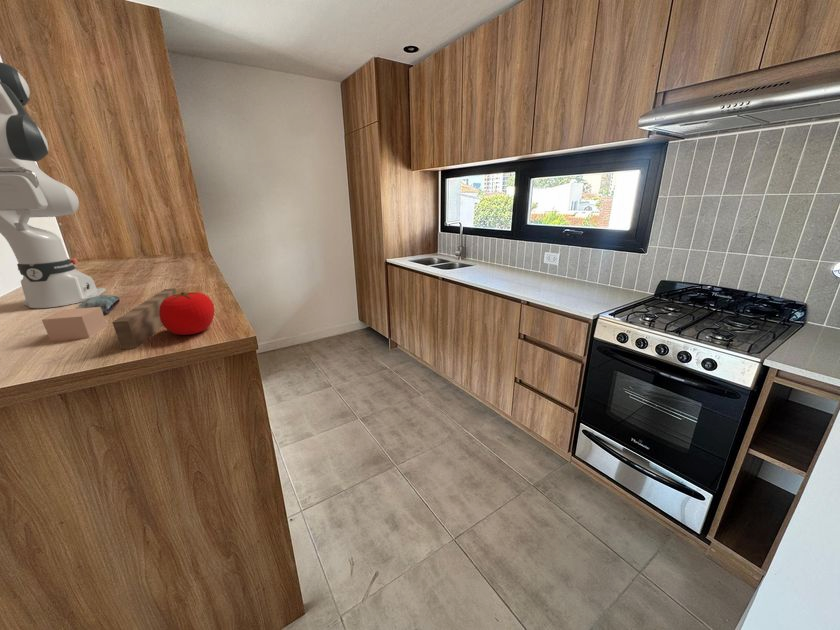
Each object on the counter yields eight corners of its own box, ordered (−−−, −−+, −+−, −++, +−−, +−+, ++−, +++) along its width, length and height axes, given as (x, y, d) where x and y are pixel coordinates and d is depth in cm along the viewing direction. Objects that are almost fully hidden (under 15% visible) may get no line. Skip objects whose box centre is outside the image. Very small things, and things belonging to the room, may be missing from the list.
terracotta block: (72, 330, 90) (64, 309, 88) (107, 327, 92) (100, 306, 90) (51, 341, 83) (41, 319, 81) (89, 338, 85) (81, 316, 83)
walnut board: (170, 310, 105) (164, 289, 103) (181, 309, 106) (175, 288, 104) (121, 349, 78) (112, 322, 76) (136, 347, 79) (127, 320, 77)
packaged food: (73, 320, 97) (68, 304, 95) (89, 308, 107) (84, 294, 105) (112, 315, 101) (107, 300, 99) (123, 305, 111) (119, 291, 109)
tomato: (160, 344, 81) (147, 301, 77) (171, 326, 92) (160, 288, 88) (215, 336, 86) (206, 295, 82) (220, 320, 97) (211, 283, 93)
